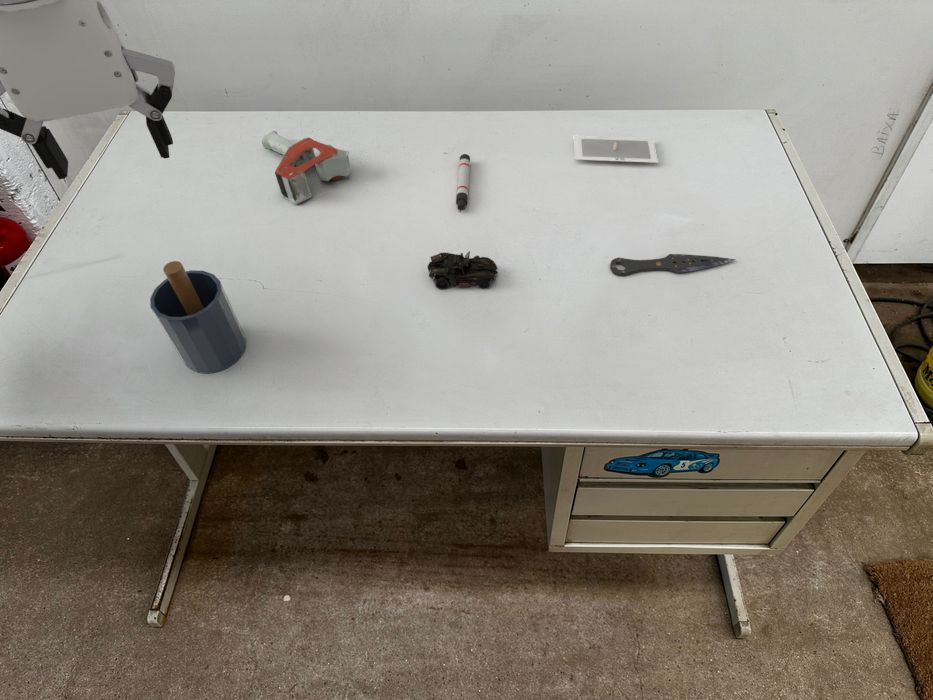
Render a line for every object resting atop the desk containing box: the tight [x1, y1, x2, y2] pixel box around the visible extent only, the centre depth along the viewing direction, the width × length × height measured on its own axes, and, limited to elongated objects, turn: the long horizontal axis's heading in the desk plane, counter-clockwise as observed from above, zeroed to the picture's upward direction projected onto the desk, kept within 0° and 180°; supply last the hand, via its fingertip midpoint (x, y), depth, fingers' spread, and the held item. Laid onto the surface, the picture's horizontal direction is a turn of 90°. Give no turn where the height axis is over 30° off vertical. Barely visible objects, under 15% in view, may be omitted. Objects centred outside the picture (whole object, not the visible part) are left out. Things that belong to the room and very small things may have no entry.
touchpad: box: [572, 134, 659, 163], centre depth 113 cm, size 8×15×2 cm, turn 86°
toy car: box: [427, 250, 498, 290], centre depth 92 cm, size 6×12×4 cm, turn 85°
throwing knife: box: [609, 253, 737, 277], centre depth 94 cm, size 4×20×1 cm, turn 95°
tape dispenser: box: [261, 130, 351, 205], centre depth 109 cm, size 18×5×20 cm
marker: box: [455, 153, 471, 213], centre depth 107 cm, size 15×2×2 cm, turn 178°
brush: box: [162, 260, 204, 315], centre depth 79 cm, size 4×4×15 cm
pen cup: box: [149, 269, 247, 374], centre depth 81 cm, size 9×9×11 cm
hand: (115, 161), depth 61 cm, fingers open, 9 cm apart
